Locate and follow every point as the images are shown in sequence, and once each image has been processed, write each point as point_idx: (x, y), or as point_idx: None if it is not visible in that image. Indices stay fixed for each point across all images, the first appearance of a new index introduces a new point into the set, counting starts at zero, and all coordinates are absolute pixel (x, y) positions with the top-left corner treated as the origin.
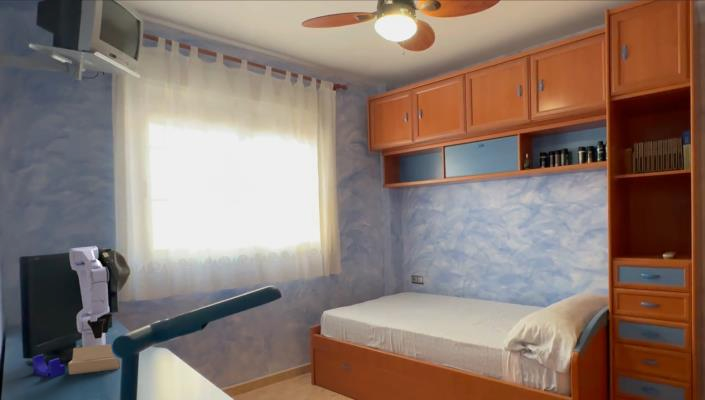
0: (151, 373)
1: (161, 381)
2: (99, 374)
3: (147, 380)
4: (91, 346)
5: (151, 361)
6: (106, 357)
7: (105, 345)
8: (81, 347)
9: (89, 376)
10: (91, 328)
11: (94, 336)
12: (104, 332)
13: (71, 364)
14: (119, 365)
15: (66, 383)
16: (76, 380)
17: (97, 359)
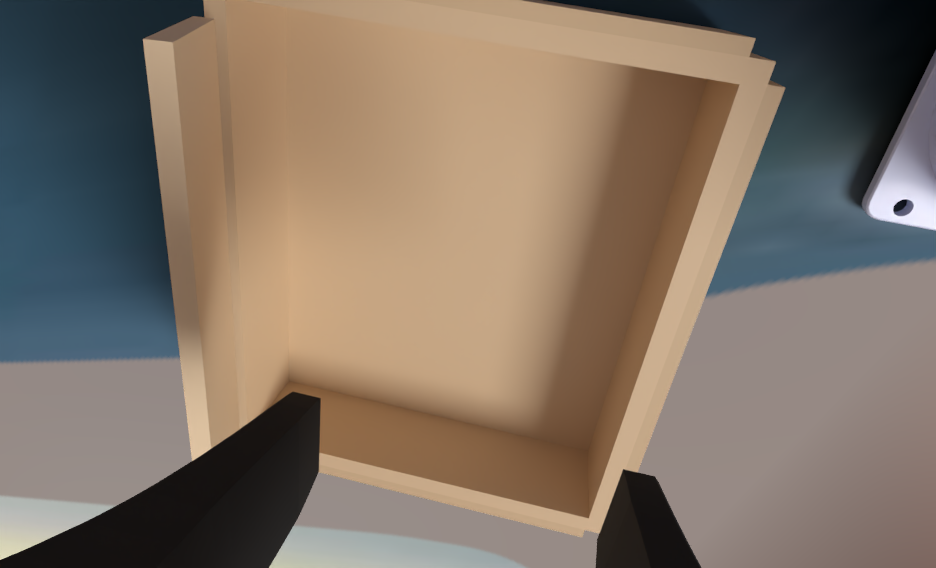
0: None
1: (14, 552)
2: None
3: (34, 506)
4: (176, 309)
5: (349, 554)
6: (234, 370)
7: (193, 451)
8: (159, 174)
9: None
10: (79, 526)
11: (264, 413)
12: (610, 517)
13: (212, 3)
14: None
15: (51, 9)
16: (107, 90)
17: (610, 208)
